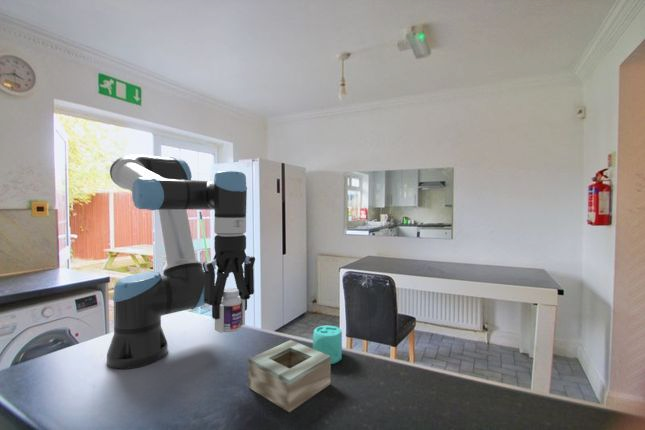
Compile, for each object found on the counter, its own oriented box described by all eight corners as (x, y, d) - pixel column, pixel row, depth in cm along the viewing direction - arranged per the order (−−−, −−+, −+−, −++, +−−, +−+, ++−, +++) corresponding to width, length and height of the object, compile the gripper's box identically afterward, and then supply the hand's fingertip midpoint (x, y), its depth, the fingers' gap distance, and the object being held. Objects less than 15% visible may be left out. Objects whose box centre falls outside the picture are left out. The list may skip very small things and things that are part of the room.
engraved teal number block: (341, 365, 86) (341, 336, 86) (312, 364, 87) (312, 335, 87) (341, 351, 94) (341, 325, 94) (314, 350, 95) (314, 324, 95)
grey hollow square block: (248, 387, 75) (248, 358, 75) (290, 365, 86) (290, 339, 86) (289, 412, 66) (289, 380, 66) (330, 383, 77) (330, 355, 77)
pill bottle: (235, 334, 75) (235, 293, 75) (214, 332, 76) (214, 292, 76) (245, 325, 80) (245, 287, 80) (226, 323, 81) (226, 286, 81)
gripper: (203, 238, 68) (203, 344, 69) (269, 233, 82) (268, 320, 83) (186, 235, 73) (186, 334, 74) (251, 231, 87) (250, 314, 88)
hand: (230, 327), depth 78 cm, fingers closed on pill bottle, 5 cm apart
